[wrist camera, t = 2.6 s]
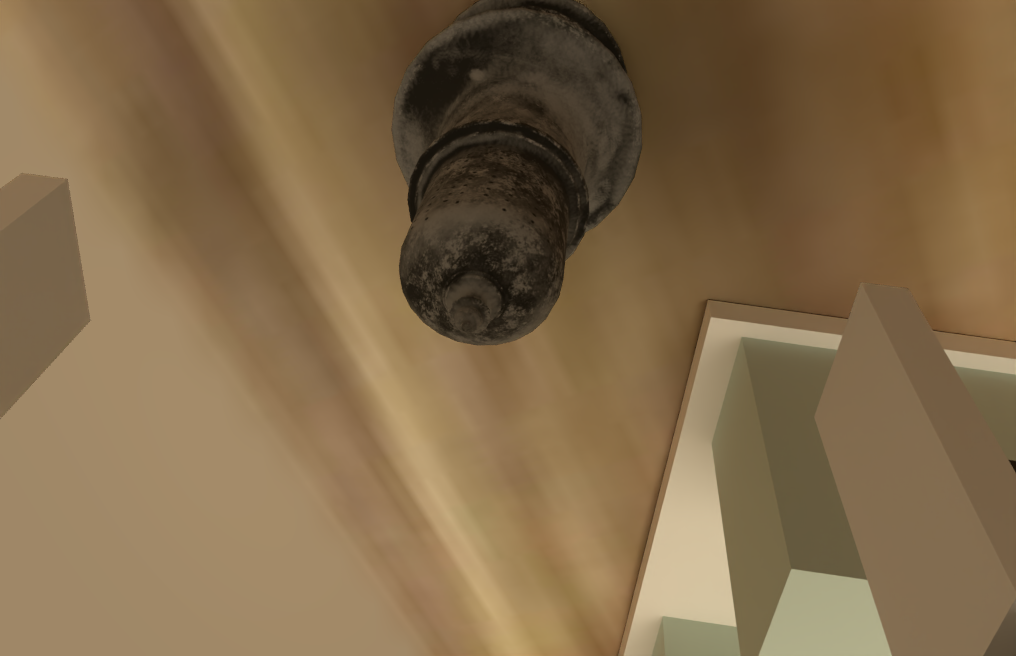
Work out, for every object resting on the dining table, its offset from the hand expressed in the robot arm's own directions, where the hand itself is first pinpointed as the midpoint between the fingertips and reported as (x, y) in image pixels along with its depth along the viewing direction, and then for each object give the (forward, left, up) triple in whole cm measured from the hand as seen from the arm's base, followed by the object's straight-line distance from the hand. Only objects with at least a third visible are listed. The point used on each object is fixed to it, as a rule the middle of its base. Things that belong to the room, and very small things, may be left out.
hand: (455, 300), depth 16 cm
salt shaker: (0, 0, -11) cm, 11 cm away
